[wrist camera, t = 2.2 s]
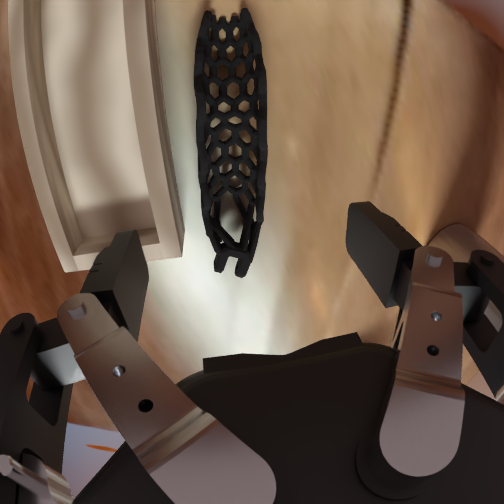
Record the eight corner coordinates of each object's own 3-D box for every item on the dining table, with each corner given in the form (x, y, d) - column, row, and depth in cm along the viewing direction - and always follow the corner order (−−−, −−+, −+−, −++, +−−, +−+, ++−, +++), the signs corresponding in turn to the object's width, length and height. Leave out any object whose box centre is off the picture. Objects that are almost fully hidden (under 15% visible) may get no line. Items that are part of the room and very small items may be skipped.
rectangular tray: (152, -55, 14) (142, -76, 10) (184, 230, 28) (181, 256, 25) (35, -16, 13) (10, -24, 9) (80, 246, 28) (65, 272, 24)
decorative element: (192, 16, 19) (187, -1, 14) (256, 13, 19) (269, -3, 14) (208, 256, 31) (209, 294, 26) (259, 252, 31) (269, 289, 26)
